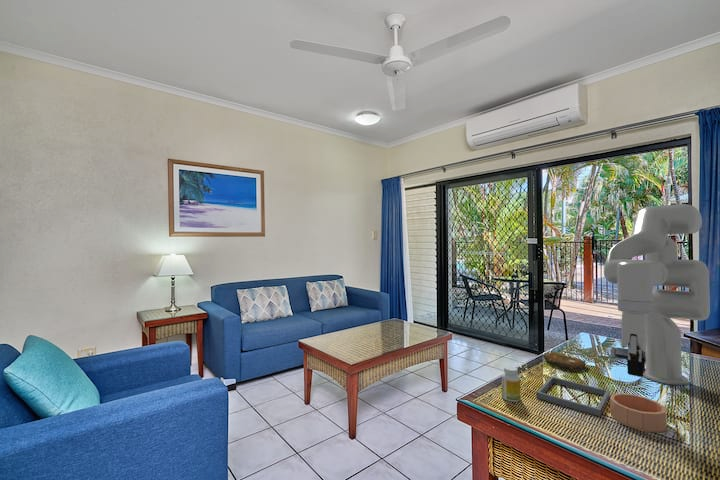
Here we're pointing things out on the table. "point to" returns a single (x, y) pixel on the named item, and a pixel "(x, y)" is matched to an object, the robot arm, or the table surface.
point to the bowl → (638, 412)
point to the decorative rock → (565, 361)
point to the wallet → (621, 353)
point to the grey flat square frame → (572, 404)
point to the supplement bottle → (511, 384)
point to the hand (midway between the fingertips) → (636, 372)
